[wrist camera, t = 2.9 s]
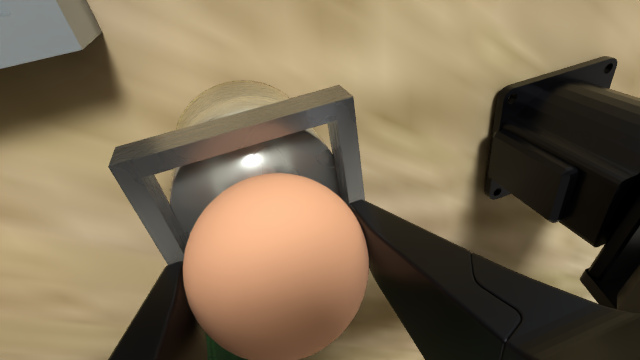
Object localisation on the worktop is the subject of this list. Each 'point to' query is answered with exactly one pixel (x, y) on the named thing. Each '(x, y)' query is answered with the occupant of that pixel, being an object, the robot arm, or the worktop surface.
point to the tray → (44, 29)
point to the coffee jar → (219, 351)
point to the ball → (275, 267)
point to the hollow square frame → (237, 153)
